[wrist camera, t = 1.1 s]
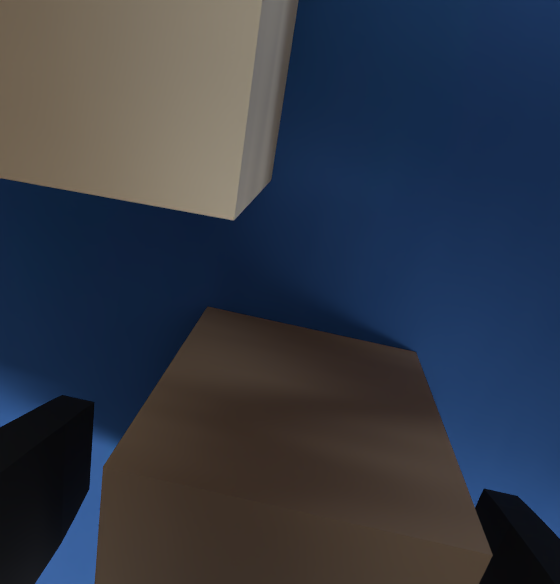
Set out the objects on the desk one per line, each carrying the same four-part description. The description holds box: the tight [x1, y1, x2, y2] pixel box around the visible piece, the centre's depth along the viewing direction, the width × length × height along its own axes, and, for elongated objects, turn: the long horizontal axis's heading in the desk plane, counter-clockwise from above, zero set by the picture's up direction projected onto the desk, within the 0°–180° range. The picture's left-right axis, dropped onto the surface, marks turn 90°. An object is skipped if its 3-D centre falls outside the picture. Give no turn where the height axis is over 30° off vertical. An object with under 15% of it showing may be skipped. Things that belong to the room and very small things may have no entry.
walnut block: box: [95, 306, 493, 584], centre depth 8 cm, size 4×4×5 cm
